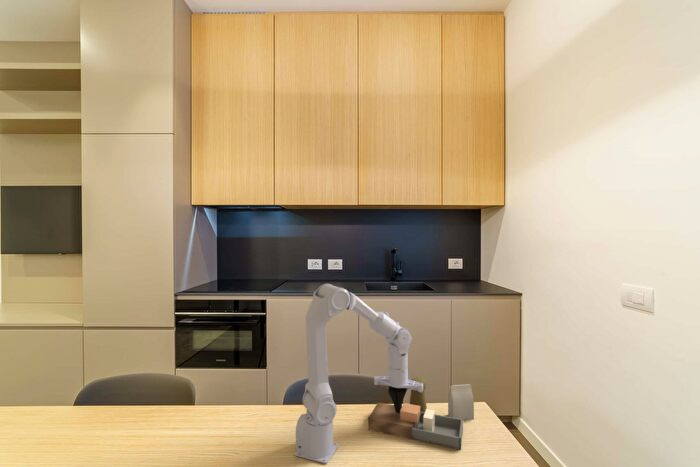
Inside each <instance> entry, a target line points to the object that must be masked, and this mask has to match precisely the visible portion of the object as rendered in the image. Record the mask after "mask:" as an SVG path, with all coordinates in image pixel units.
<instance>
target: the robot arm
mask: <svg viewBox="0 0 700 467" xmlns="http://www.w3.org/2000/svg"><path fill="white" fill-rule="evenodd" d="M345 310H347V311H354V312H355V313H356V314H358V315H359V316H361V317H362V318H364V319H365V320H366V321H368V323H369V327H370V329H372V331H374V332H376V334H377V335H378V334H379V336H380V337H382V338H384V340H385V341H386V342H388V344H387V346H388V358H387V359H388V376H377V375H375V377H374V378H373V382H374V386H378V385H379V386H380V385H381V386H385V387H388V395H389V397H390V398H391V400H392V403H393V404H392V405H394V407H395V412H396V413H400V410H401V408H402V406H403V404H404V403H403V402H404V399H405V396H406V394H407V391H408V390H410V391H411V390H416V391H419V392H422V391H423V383H419V382H416V381H413V380H411V378H410V379H409V371H408V370H409V369H408V367H409V366H408V365H409V363H408V361H409V360H408V359H409V358H408V357H409V356H408V354H409V353H408V352H409V350H410V348H409V347H410V345H411V344H412V338H413V337H412V336H411V333H410V330H408V329H407V328H405V327H403V326H401V325H400V322H399V321H397V320H394V319H392V317H390V314H389V313H388V312H387V311H375V310H374V309H373V308H371V307H370V305H368V304H366V303H365V302H364V301H363V300H362V299H360V298H359V297H358V296H357V295H356V294H354V293H353V292H350V291H348V290H347V289H345V288H344V287H339V286H335V285H333V284H330V283H324V284H322V285H320V286H319V287H318V288H317V289H316V290H314V292H313V295H312V300H311V302H310V305H309V307H308V308H307V311H306V314H305V330H306V331H305V334H306V336H305V337H306V354H307V356H306V357H307V358H306V359H307V374H308V375H307V377H308V378H307V379H308V382H306V383H305V385H304V386H305V387H304V388H305V389H304V393H303V396H302V404H303V406H304V408H305V409H306V413H302V414H300V415H299V417H298V419H297V422H296V426H295V452H294V453H293V454H294V456H295V457H299V458H303V459H307V460H310V461H314V462H318V463H322V464H328V463H329V461H330V459H332V457H333V455H334V454H335V453H336V451H337V449H339V446H340V444H339V443H337V442H334V427H333V426H334V419H335V417H336V415H337V404H336V403H335V402H334V397H333V391H332V388H331V386H330V382H329V368H328V367H329V365H328V364H329V363H328V346H327V324H328V322H329V321H330V320H331V319H333V318H334V317H335V316H337V315H340V314H341V313H343V312H344V311H345Z"/></svg>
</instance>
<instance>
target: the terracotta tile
mask: <svg viewBox="0 0 700 467" xmlns="http://www.w3.org/2000/svg"><path fill="white" fill-rule="evenodd" d="M419 417H420V406H418V405H412V404H410V403H402V408H401V410H400V420H405V421H410V422H415V423H418V420H419Z"/></svg>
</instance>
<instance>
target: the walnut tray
mask: <svg viewBox="0 0 700 467" xmlns="http://www.w3.org/2000/svg"><path fill="white" fill-rule="evenodd" d="M367 426H368V427H367V428H368V429H367V430H368V431H372V432H374V433H375V432H376V433H381V434H385V435H390V436H394V437H399V438H404V439H408V440H413V439H412V428H414V426H415V422H410V421H405V420H400V413H396V412H395V407H394V404H388V403H384V402H377V403H376V405H375V406H374V407H373V410H372V411H371V413H370V414H369V416H368V418H367Z"/></svg>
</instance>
